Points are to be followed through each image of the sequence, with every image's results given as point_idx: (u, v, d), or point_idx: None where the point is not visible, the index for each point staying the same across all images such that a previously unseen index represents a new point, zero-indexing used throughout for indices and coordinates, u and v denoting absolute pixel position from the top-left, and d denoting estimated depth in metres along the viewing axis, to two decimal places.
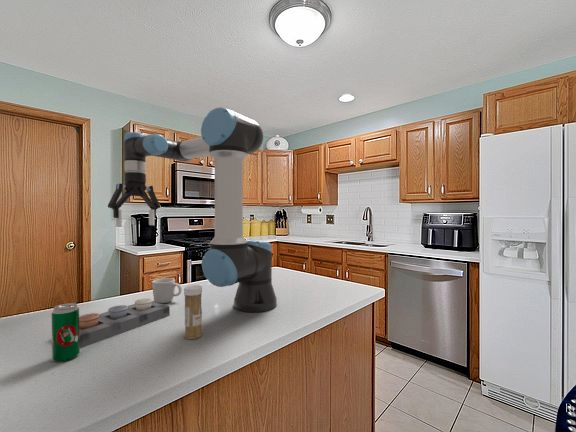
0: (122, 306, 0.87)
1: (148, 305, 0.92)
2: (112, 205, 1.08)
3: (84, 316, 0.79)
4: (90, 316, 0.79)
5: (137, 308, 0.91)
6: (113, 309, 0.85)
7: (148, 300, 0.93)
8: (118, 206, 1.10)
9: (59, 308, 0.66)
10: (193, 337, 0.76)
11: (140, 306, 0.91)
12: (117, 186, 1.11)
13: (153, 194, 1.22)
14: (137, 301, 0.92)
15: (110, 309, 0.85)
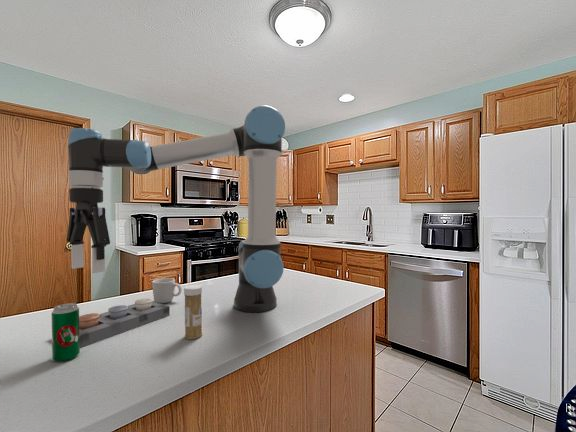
0: (122, 306, 0.87)
1: (148, 305, 0.92)
2: (67, 239, 0.82)
3: (84, 316, 0.79)
4: (90, 316, 0.79)
5: (137, 308, 0.91)
6: (113, 309, 0.85)
7: (148, 300, 0.93)
8: (71, 240, 0.81)
9: (59, 308, 0.66)
10: (193, 337, 0.76)
11: (140, 306, 0.91)
12: None
13: (95, 221, 0.74)
14: (137, 301, 0.92)
15: (110, 309, 0.85)
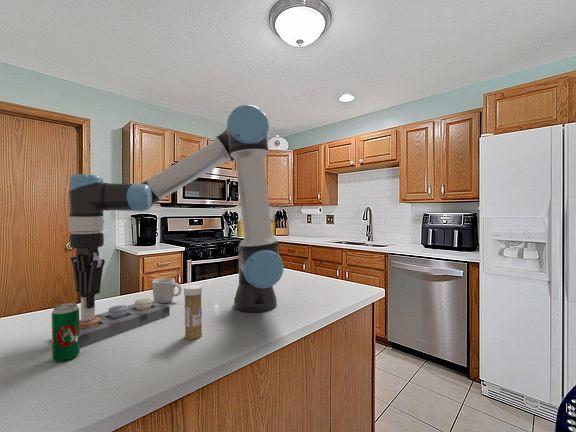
0: (122, 306, 0.87)
1: (148, 305, 0.92)
2: (76, 289, 0.80)
3: None
4: (90, 320, 0.79)
5: (137, 308, 0.91)
6: (113, 309, 0.85)
7: (148, 300, 0.93)
8: (80, 291, 0.79)
9: (59, 308, 0.66)
10: (193, 337, 0.76)
11: (140, 306, 0.91)
12: None
13: (91, 273, 0.76)
14: (137, 301, 0.92)
15: (110, 309, 0.85)
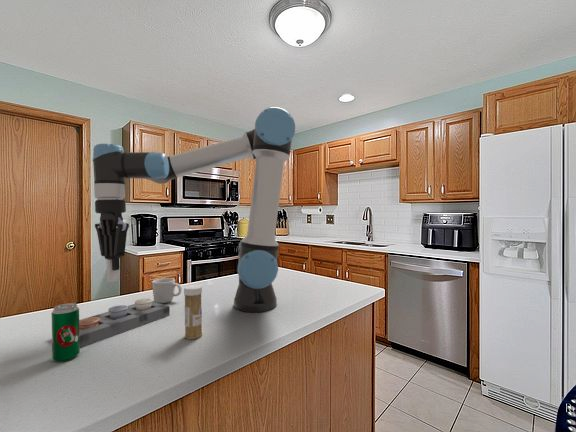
0: (122, 306, 0.87)
1: (148, 305, 0.92)
2: (101, 253, 0.84)
3: (84, 320, 0.79)
4: (90, 320, 0.79)
5: (137, 308, 0.91)
6: (113, 309, 0.85)
7: (148, 300, 0.93)
8: (105, 254, 0.84)
9: (59, 308, 0.66)
10: (193, 337, 0.76)
11: (140, 306, 0.91)
12: None
13: (116, 235, 0.81)
14: (137, 301, 0.92)
15: (110, 309, 0.85)
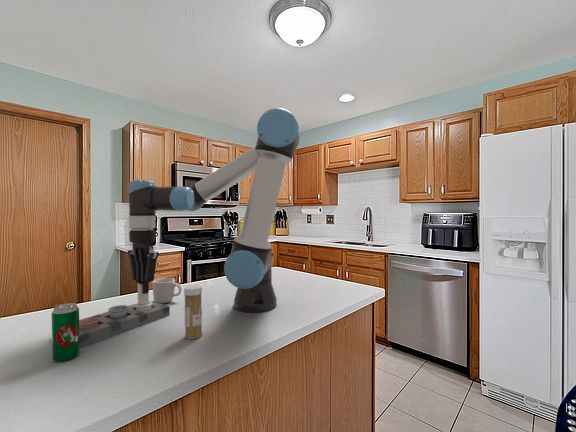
0: (122, 306, 0.87)
1: (148, 308, 0.92)
2: (133, 278, 0.93)
3: (84, 320, 0.79)
4: (90, 320, 0.79)
5: None
6: (113, 309, 0.85)
7: (148, 303, 0.93)
8: (136, 279, 0.92)
9: (59, 308, 0.66)
10: (193, 337, 0.76)
11: (140, 309, 0.91)
12: None
13: (148, 263, 0.90)
14: (137, 304, 0.92)
15: (110, 309, 0.85)
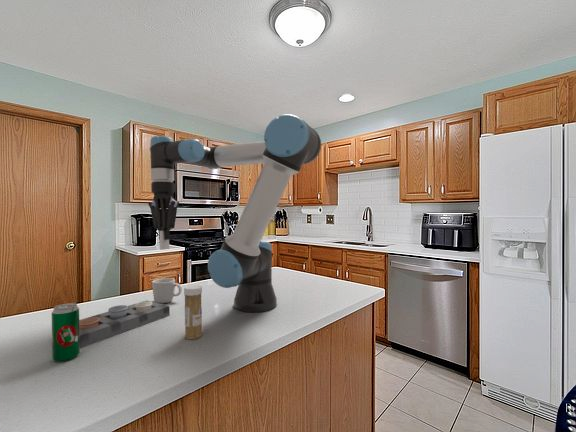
0: (122, 306, 0.87)
1: (148, 308, 0.92)
2: (154, 226, 1.03)
3: (84, 320, 0.79)
4: (90, 320, 0.79)
5: None
6: (113, 309, 0.85)
7: (148, 303, 0.93)
8: (158, 227, 1.02)
9: (59, 308, 0.66)
10: (193, 337, 0.76)
11: (140, 310, 0.91)
12: None
13: (169, 211, 0.99)
14: (137, 304, 0.92)
15: (110, 309, 0.85)
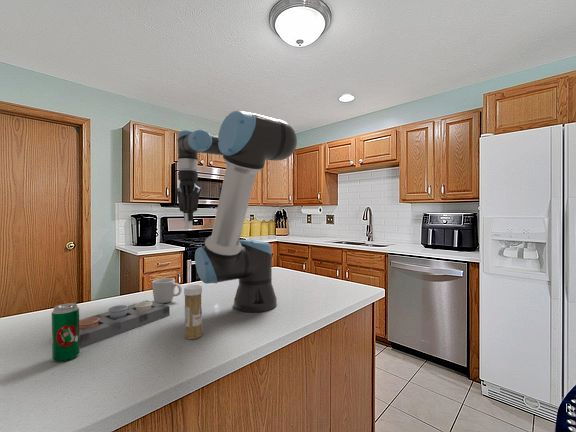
0: (122, 306, 0.87)
1: (148, 308, 0.92)
2: (180, 209, 1.19)
3: (84, 320, 0.79)
4: (90, 320, 0.79)
5: None
6: (113, 309, 0.85)
7: (148, 303, 0.93)
8: (183, 209, 1.18)
9: (59, 308, 0.66)
10: (193, 337, 0.76)
11: (140, 310, 0.91)
12: None
13: (193, 195, 1.15)
14: (137, 304, 0.92)
15: (110, 309, 0.85)
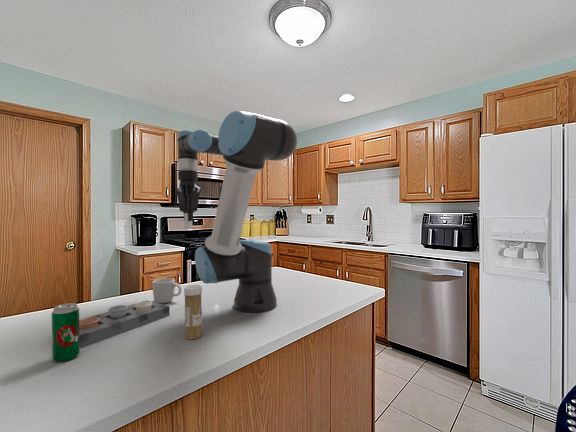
0: (122, 306, 0.87)
1: (148, 308, 0.92)
2: (180, 209, 1.19)
3: (84, 320, 0.79)
4: (90, 320, 0.79)
5: None
6: (113, 309, 0.85)
7: (148, 303, 0.93)
8: (183, 209, 1.18)
9: (59, 308, 0.66)
10: (193, 337, 0.76)
11: (140, 310, 0.91)
12: None
13: (193, 195, 1.15)
14: (137, 304, 0.92)
15: (110, 309, 0.85)
